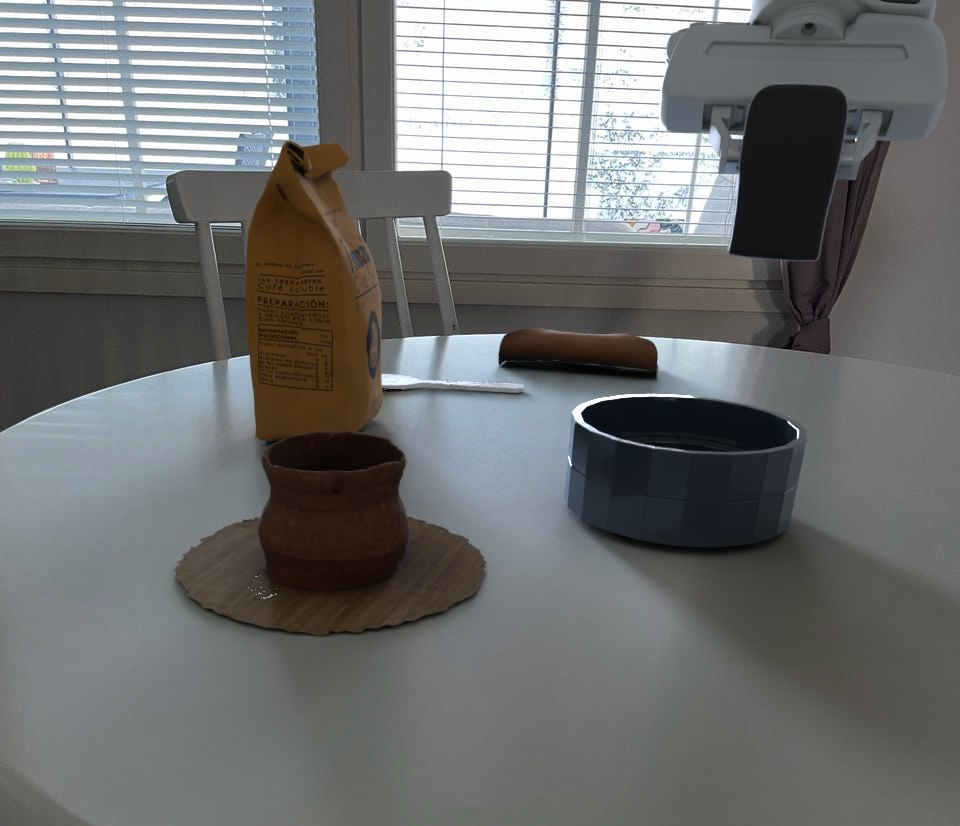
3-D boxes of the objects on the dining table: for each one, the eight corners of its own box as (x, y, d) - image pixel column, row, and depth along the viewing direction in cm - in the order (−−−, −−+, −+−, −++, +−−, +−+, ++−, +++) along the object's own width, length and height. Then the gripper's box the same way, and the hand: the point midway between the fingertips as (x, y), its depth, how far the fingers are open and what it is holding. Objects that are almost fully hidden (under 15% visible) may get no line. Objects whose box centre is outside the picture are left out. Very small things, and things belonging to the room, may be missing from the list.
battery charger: (819, 259, 72) (852, 87, 67) (820, 264, 69) (855, 84, 64) (727, 253, 74) (752, 85, 68) (724, 257, 71) (750, 81, 65)
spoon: (523, 396, 94) (523, 391, 94) (345, 387, 94) (345, 382, 94) (524, 384, 98) (524, 379, 98) (354, 376, 99) (354, 371, 99)
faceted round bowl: (754, 483, 72) (770, 398, 69) (818, 560, 58) (840, 458, 55) (557, 476, 72) (564, 390, 68) (575, 551, 58) (584, 449, 55)
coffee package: (401, 418, 85) (400, 144, 75) (352, 456, 74) (344, 142, 64) (298, 408, 87) (284, 139, 76) (237, 443, 76) (210, 136, 66)
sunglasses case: (660, 361, 110) (665, 315, 105) (653, 404, 107) (658, 358, 101) (510, 350, 113) (507, 304, 108) (499, 391, 110) (495, 345, 104)
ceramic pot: (550, 574, 55) (559, 457, 52) (296, 671, 44) (288, 530, 40) (360, 494, 66) (358, 394, 63) (120, 556, 55) (101, 437, 52)
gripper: (672, -14, 71) (645, 129, 67) (961, -12, 67) (949, 140, 63) (669, 60, 77) (643, 195, 73) (933, 66, 73) (921, 210, 69)
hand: (787, 170), depth 68 cm, fingers closed on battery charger, 7 cm apart
